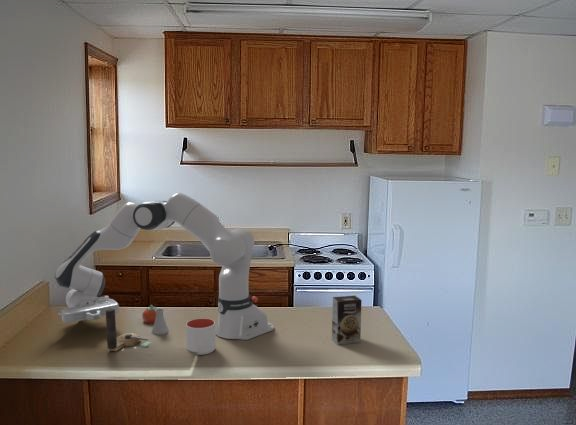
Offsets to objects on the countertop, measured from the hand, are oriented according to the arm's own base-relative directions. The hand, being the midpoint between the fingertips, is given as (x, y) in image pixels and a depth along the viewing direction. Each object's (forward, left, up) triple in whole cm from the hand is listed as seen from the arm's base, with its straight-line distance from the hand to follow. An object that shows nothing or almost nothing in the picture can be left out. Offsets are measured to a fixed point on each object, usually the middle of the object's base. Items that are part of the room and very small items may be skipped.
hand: (96, 317), depth 191 cm
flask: (-21, +7, -9) cm, 24 cm away
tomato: (-23, -6, -9) cm, 26 cm away
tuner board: (-6, +9, -9) cm, 14 cm away
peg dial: (-6, +14, -8) cm, 17 cm away
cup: (-27, +29, -9) cm, 41 cm away
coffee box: (-74, +52, -9) cm, 91 cm away
